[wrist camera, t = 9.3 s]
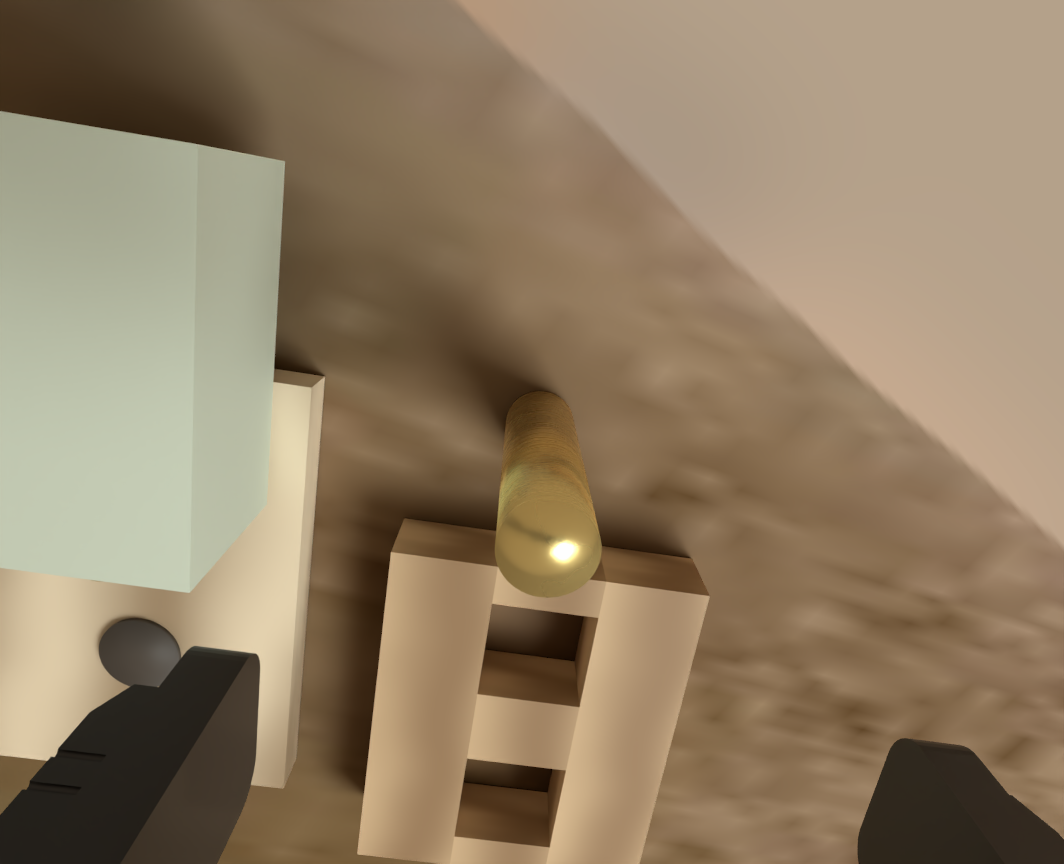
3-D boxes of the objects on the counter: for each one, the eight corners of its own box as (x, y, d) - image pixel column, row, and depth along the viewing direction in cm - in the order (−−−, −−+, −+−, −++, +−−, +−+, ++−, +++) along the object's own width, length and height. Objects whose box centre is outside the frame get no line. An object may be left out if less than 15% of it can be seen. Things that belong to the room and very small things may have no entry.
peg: (501, 450, 24) (487, 590, 15) (511, 386, 23) (503, 493, 14) (567, 460, 24) (591, 604, 15) (578, 396, 23) (611, 509, 14)
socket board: (371, 798, 28) (357, 854, 25) (404, 518, 24) (390, 551, 22) (624, 828, 28) (633, 885, 26) (692, 558, 25) (709, 596, 22)
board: (25, 725, 27) (-59, 812, 23) (1, 327, 22) (-109, 352, 18) (296, 757, 27) (258, 847, 23) (325, 376, 23) (284, 410, 19)
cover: (-2, 466, 22) (-163, 546, 16) (-25, 109, 19) (-232, 72, 14) (266, 504, 22) (189, 593, 17) (284, 161, 19) (198, 144, 14)
